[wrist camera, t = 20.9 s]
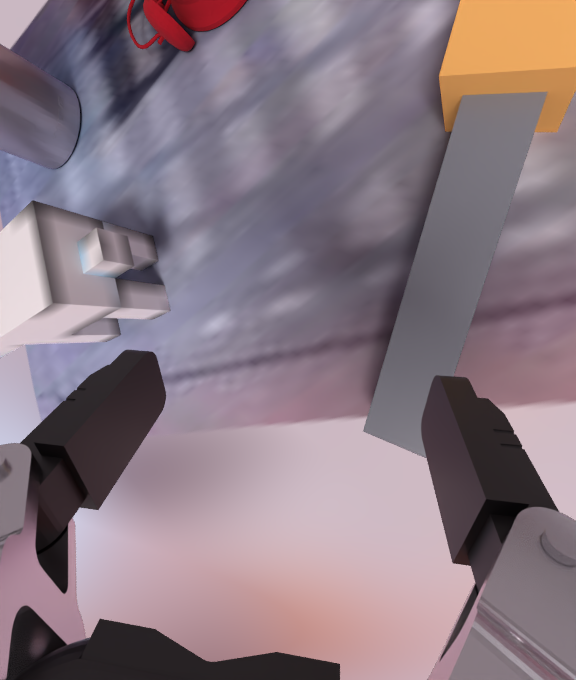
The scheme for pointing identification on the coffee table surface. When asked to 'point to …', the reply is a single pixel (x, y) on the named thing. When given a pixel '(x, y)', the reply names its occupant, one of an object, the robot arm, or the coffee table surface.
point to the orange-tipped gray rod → (472, 188)
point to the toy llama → (71, 278)
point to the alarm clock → (184, 19)
